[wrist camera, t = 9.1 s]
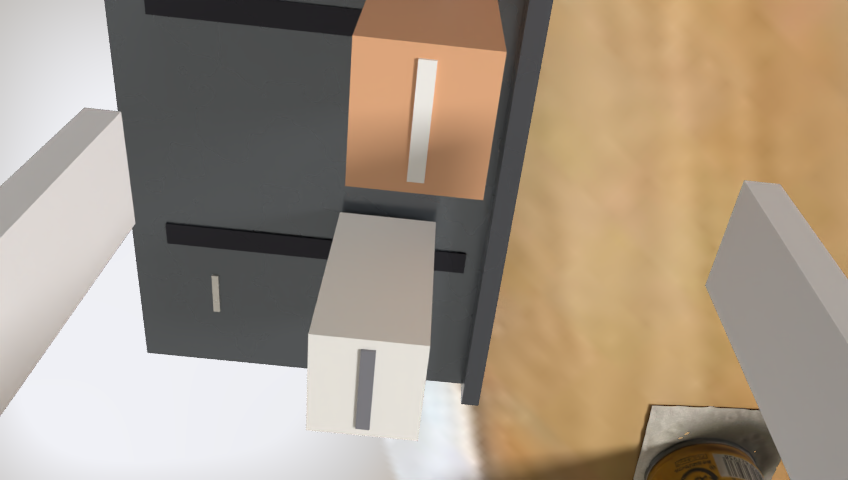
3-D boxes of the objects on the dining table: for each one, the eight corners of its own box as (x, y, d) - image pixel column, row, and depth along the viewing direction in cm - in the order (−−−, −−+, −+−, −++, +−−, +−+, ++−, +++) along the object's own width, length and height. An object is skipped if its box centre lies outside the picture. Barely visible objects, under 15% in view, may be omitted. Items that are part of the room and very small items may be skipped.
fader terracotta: (379, -35, 26) (351, 36, 20) (493, -22, 27) (507, 53, 20) (371, 86, 29) (344, 187, 22) (476, 97, 29) (483, 202, 22)
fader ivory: (339, 212, 32) (307, 335, 25) (435, 221, 32) (430, 348, 25) (336, 297, 34) (305, 432, 27) (425, 306, 34) (417, 442, 27)
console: (89, -230, 25) (56, -229, 23) (574, -174, 25) (584, -169, 23) (154, 339, 38) (137, 372, 36) (477, 371, 38) (478, 405, 36)
